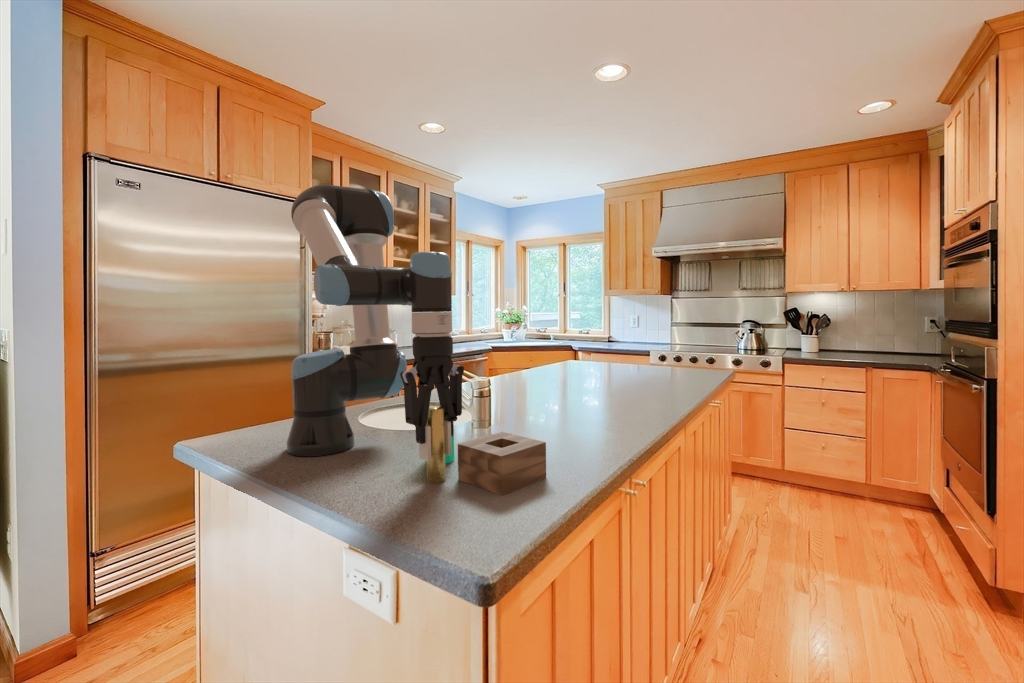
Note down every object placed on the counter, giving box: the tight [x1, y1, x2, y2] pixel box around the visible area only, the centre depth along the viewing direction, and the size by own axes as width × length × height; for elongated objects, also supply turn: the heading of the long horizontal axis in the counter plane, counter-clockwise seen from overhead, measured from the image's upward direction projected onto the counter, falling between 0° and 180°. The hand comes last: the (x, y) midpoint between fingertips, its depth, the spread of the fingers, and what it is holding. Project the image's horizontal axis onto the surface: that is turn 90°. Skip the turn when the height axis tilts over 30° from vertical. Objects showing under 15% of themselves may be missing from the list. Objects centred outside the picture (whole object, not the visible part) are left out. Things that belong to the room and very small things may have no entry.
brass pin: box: [425, 405, 447, 484], centre depth 93 cm, size 4×4×14 cm
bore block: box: [457, 431, 547, 496], centre depth 93 cm, size 12×12×7 cm
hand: (435, 456), depth 93 cm, fingers open, 4 cm apart
